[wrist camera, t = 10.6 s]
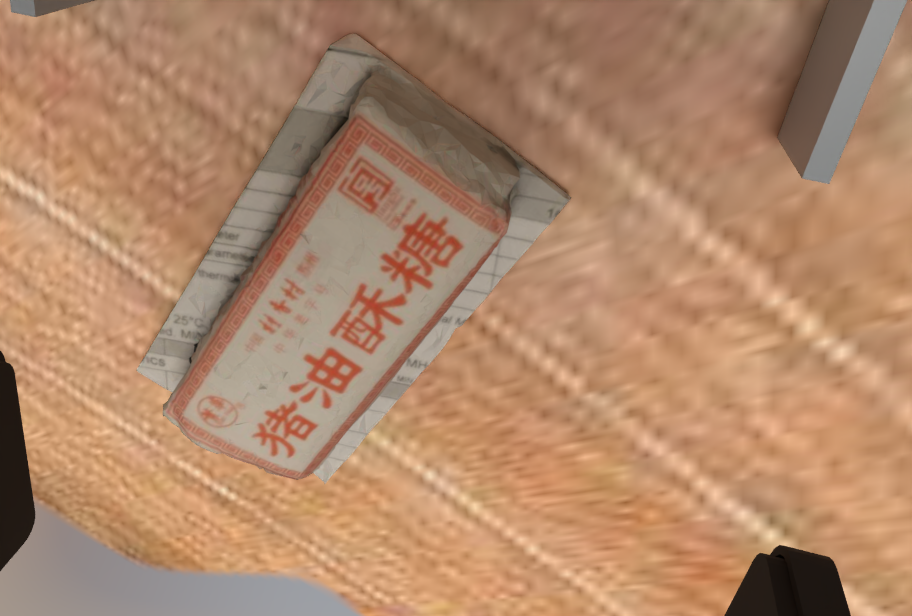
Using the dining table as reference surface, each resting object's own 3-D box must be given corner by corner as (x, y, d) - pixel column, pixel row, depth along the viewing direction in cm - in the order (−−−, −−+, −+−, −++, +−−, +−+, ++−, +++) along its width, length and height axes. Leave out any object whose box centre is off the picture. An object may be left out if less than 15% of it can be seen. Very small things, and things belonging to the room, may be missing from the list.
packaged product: (306, 47, 24) (569, 240, 26) (350, 19, 28) (573, 187, 30) (92, 415, 33) (300, 543, 34) (150, 352, 37) (332, 468, 38)
